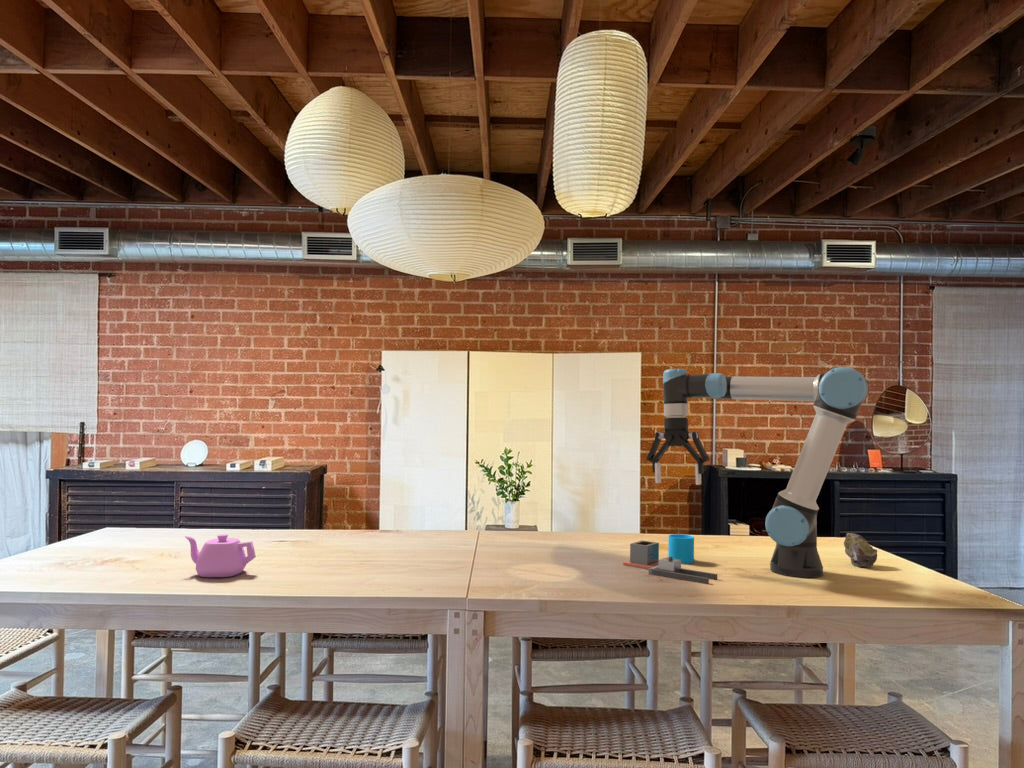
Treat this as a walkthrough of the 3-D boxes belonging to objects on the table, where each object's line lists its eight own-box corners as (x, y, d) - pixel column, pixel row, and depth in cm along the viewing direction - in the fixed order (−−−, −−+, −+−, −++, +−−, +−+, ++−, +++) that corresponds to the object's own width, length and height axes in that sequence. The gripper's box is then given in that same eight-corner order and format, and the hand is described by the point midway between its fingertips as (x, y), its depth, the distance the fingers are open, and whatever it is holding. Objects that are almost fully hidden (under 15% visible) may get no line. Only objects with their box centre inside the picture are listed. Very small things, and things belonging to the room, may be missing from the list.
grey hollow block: (658, 561, 219) (658, 542, 219) (647, 565, 213) (647, 546, 213) (641, 559, 223) (641, 540, 223) (630, 562, 216) (630, 543, 217)
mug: (697, 564, 221) (697, 538, 221) (672, 564, 220) (673, 538, 220) (684, 556, 233) (685, 532, 233) (661, 556, 232) (661, 532, 232)
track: (717, 579, 200) (717, 574, 200) (707, 584, 194) (707, 578, 194) (659, 569, 211) (659, 564, 211) (648, 573, 205) (648, 568, 205)
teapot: (192, 568, 201) (194, 530, 202) (261, 569, 202) (263, 531, 203) (172, 579, 188) (174, 538, 189) (246, 579, 189) (248, 539, 190)
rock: (835, 564, 223) (835, 534, 223) (848, 561, 229) (848, 531, 230) (870, 570, 215) (870, 539, 215) (882, 566, 221) (882, 535, 222)
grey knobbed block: (681, 573, 205) (681, 556, 205) (674, 576, 201) (674, 559, 202) (665, 570, 208) (665, 554, 209) (658, 573, 204) (658, 556, 205)
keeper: (666, 564, 218) (666, 546, 219) (652, 569, 211) (652, 551, 211) (637, 560, 225) (637, 542, 225) (623, 565, 217) (623, 547, 217)
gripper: (718, 416, 215) (720, 484, 214) (645, 418, 230) (647, 481, 228) (709, 416, 209) (711, 486, 208) (635, 417, 224) (637, 483, 222)
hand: (678, 483), depth 218 cm, fingers open, 13 cm apart
